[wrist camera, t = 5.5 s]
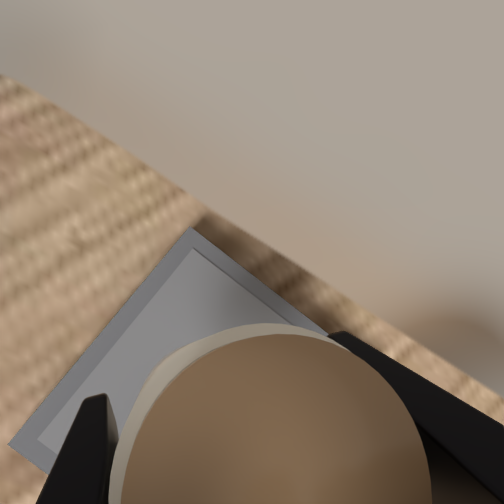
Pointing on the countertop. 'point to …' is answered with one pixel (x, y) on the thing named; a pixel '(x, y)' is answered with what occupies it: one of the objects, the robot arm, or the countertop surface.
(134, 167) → the countertop surface
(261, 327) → the spice jar
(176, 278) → the slate trivet
